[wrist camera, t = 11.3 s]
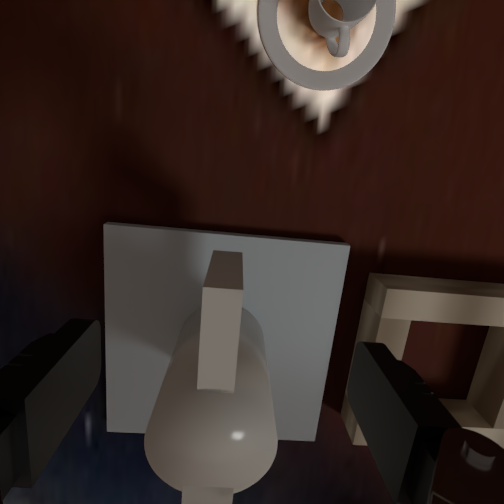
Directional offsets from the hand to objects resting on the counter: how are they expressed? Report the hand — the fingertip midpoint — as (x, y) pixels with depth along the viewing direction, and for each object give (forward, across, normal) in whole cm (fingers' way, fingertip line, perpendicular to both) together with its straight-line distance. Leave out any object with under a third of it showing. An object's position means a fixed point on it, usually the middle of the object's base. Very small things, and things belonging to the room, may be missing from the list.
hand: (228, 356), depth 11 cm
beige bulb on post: (+12, 0, +5) cm, 13 cm away
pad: (+13, 0, +7) cm, 15 cm away
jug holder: (+13, -16, +7) cm, 21 cm away
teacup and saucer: (+14, -6, -17) cm, 22 cm away
